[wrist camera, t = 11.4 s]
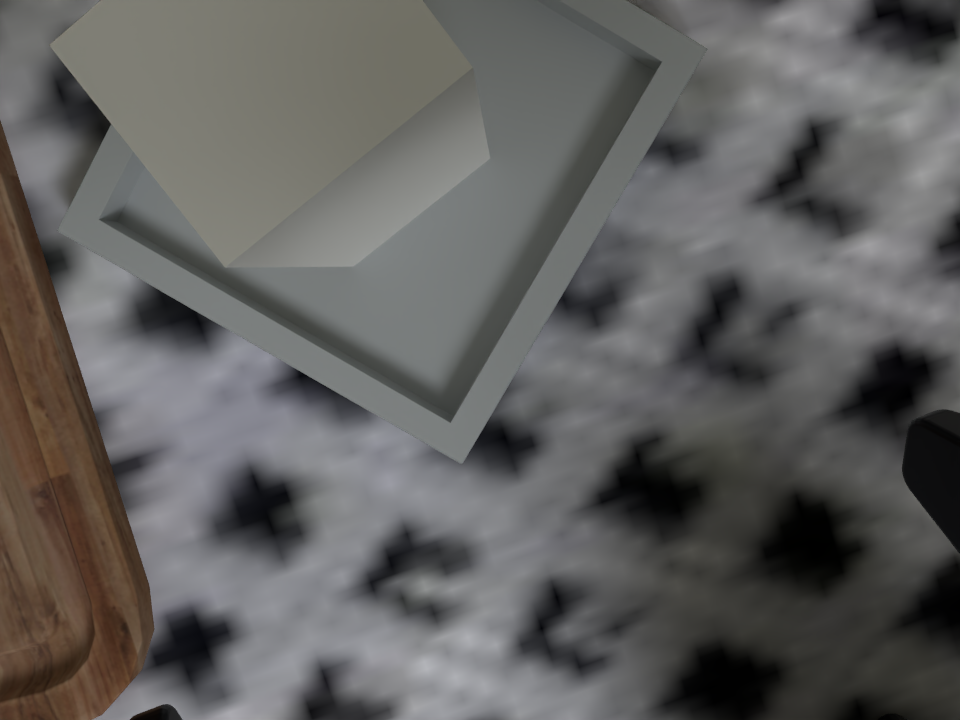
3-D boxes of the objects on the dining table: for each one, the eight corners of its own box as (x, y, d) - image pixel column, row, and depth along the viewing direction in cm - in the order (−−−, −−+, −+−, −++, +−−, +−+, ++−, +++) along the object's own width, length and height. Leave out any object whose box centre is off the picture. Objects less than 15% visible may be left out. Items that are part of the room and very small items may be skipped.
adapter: (492, 156, 22) (477, 63, 12) (353, 266, 22) (225, 268, 12) (398, 31, 21) (300, -172, 11) (259, 145, 22) (48, 45, 12)
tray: (694, 62, 22) (707, 49, 20) (464, 452, 23) (461, 464, 22) (293, -177, 21) (278, -207, 20) (84, 233, 23) (56, 231, 21)
